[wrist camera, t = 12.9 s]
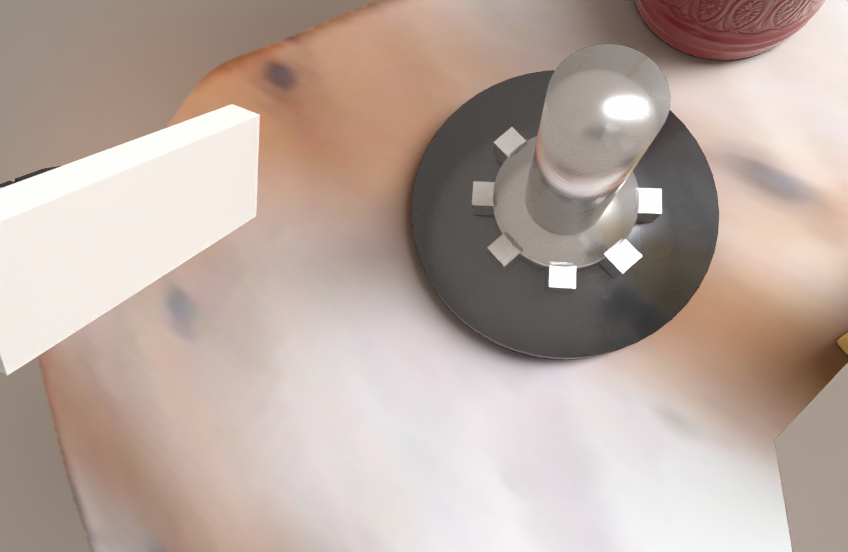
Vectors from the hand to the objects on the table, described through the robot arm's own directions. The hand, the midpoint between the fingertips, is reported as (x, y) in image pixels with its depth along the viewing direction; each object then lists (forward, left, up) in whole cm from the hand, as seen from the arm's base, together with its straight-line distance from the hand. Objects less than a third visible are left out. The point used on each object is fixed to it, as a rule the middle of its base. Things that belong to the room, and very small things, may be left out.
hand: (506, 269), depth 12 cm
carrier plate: (-4, -10, -25) cm, 27 cm away
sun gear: (-4, -10, -24) cm, 26 cm away
